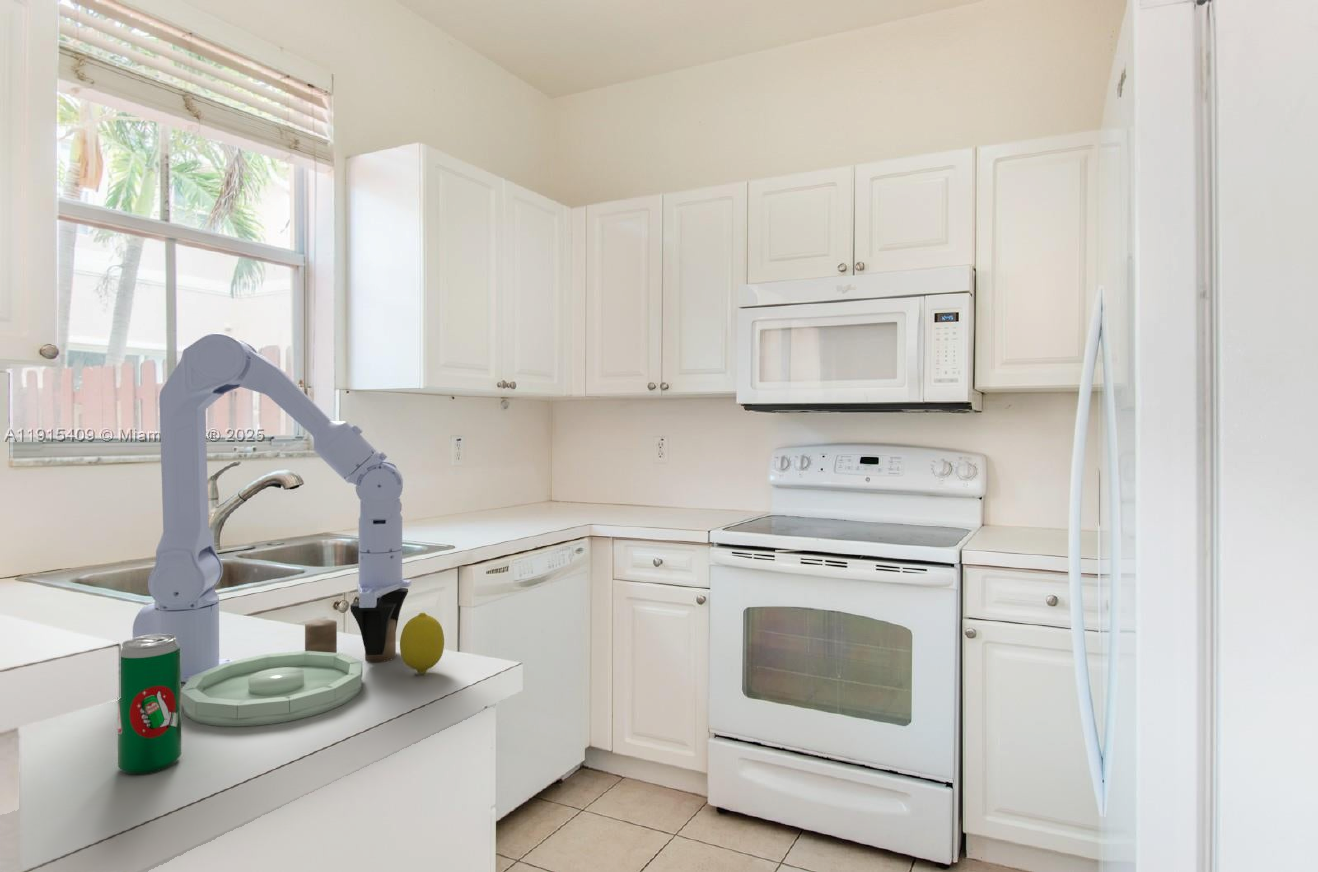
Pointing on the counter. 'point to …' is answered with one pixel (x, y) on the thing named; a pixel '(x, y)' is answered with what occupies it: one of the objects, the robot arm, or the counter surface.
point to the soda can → (149, 704)
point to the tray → (271, 688)
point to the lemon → (422, 642)
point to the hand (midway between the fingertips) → (380, 647)
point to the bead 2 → (386, 645)
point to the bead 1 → (321, 636)
